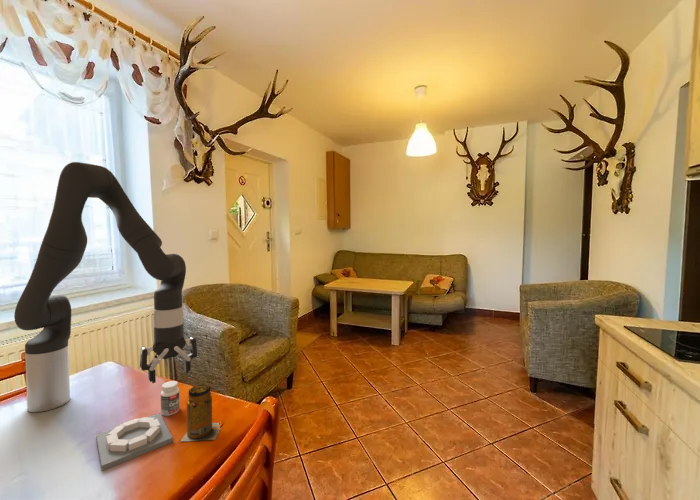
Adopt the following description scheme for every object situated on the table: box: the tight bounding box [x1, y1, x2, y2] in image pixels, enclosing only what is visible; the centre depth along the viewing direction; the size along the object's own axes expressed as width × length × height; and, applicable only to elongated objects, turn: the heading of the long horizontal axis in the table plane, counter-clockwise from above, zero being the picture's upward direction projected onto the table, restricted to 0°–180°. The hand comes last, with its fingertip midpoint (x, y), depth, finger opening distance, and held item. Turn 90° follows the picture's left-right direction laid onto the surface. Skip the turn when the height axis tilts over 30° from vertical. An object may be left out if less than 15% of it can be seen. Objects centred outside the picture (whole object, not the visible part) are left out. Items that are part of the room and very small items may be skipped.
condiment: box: [180, 383, 222, 442], centre depth 81 cm, size 7×8×12 cm
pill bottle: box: [160, 380, 180, 417], centre depth 90 cm, size 5×5×8 cm
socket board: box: [95, 412, 174, 472], centre depth 78 cm, size 14×14×3 cm
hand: (170, 377), depth 90 cm, fingers open, 8 cm apart
